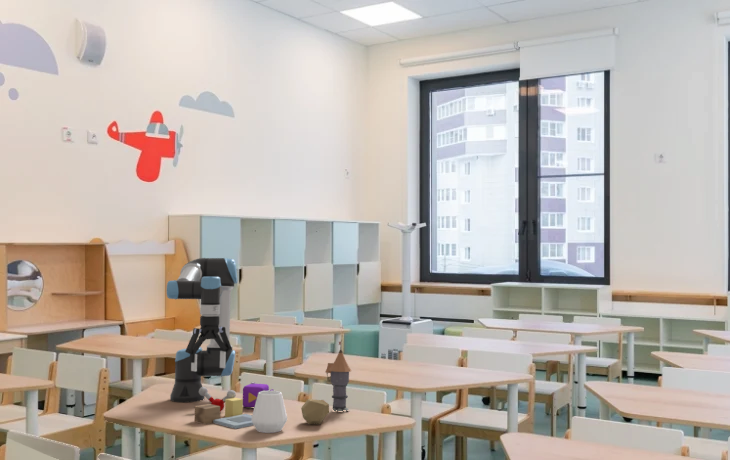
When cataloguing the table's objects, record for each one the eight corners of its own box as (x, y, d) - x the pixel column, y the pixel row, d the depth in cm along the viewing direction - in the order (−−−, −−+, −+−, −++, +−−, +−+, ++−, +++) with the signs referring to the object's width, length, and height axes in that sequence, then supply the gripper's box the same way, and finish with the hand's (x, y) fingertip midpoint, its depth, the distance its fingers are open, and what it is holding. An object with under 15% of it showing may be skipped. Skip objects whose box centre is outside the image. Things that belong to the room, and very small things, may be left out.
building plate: (213, 422, 275) (213, 419, 275) (245, 416, 286) (245, 413, 287) (235, 428, 265) (235, 425, 265) (268, 422, 277) (268, 418, 277)
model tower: (331, 407, 308) (333, 338, 309) (354, 409, 303) (355, 339, 305) (321, 411, 299) (323, 340, 301) (345, 414, 295) (346, 341, 296)
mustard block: (224, 416, 287) (225, 399, 287) (234, 414, 290) (235, 397, 291) (232, 418, 283) (232, 400, 284) (242, 416, 287) (242, 399, 287)
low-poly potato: (310, 429, 268) (336, 414, 270) (296, 403, 270) (323, 388, 273) (309, 431, 282) (334, 417, 284) (296, 407, 284) (321, 393, 287)
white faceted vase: (288, 433, 259) (289, 395, 260) (252, 434, 257) (253, 396, 257) (285, 425, 272) (286, 389, 273) (250, 426, 270) (251, 389, 270)
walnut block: (194, 421, 277) (194, 406, 277) (209, 418, 282) (209, 403, 282) (204, 424, 272) (205, 408, 273) (219, 421, 277) (220, 406, 278)
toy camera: (272, 409, 302) (273, 386, 302) (241, 409, 302) (241, 385, 302) (276, 404, 312) (277, 382, 313) (245, 404, 313) (246, 381, 313)
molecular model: (195, 411, 295) (196, 387, 296) (203, 409, 300) (204, 385, 301) (231, 415, 288) (231, 391, 289) (238, 413, 293) (239, 388, 294)
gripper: (188, 317, 268) (187, 373, 266) (240, 314, 286) (239, 367, 285) (177, 316, 273) (175, 371, 271) (229, 313, 291) (228, 365, 290)
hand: (208, 369), depth 278 cm, fingers open, 13 cm apart
